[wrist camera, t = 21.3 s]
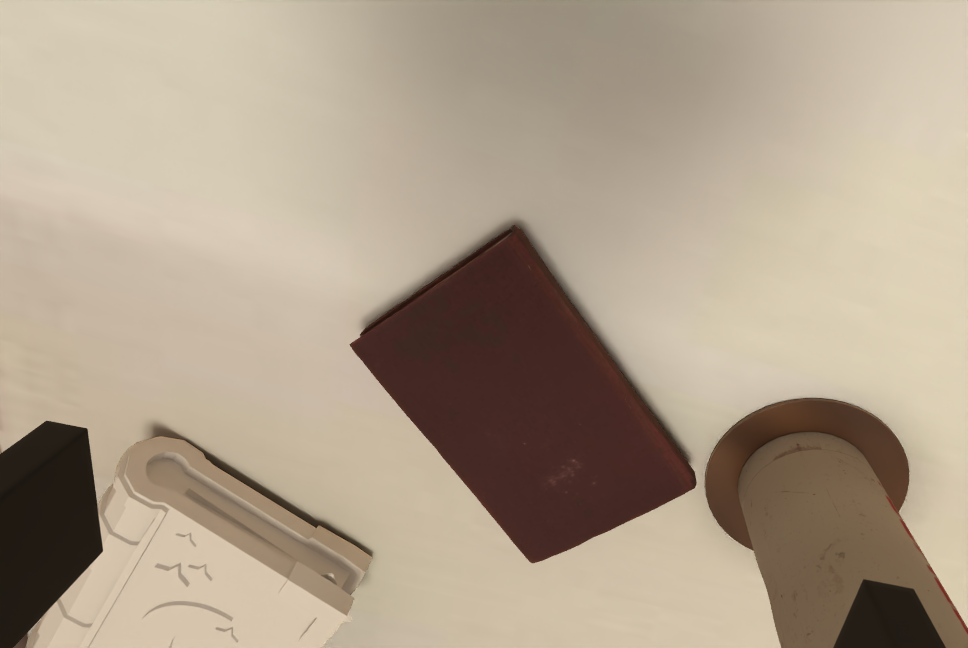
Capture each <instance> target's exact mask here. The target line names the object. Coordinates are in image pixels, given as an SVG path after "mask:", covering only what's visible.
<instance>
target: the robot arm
mask: <svg viewBox="0 0 968 648" xmlns="http://www.w3.org/2000/svg"><path fill="white" fill-rule="evenodd" d="M102 552H103V546H102V538H101V530H100V522H99V515H98V507H97V499H96V492H95V484H94V476H93V469H92V461H91V453H90V446H89V438H88V430H87V428H82V427H76V426H71V425H66V424H61V423H56V422H51V421H45V422H44V423H43V424H41V425H40V426H39V427H37V428H36V429H34V430H33V431H32V432H30V433H29V434H28V435H26V436H25V437H23V438H22V439H21V440H19V441H18V442H16V443H15V444H14V445H12V446H11V447H10V448H8V449H7V450H5V451H4V452H3V453H1V454H0V648H13V647H14V646H15V645H16V644H17V643H18V642H19V641H20V640H21V639H22V638H23V637H24V635H25V634H26V633H27V632H28V631H29V630H30V629H31V628H32V627H33V626H34V625H35V624H36V623H37V622H38V621H39V619H40V618H41V617H42V616H43V615H44V614H45V613H46V612H47V611H48V610H49V609H50V608H51V607H52V606H53V605H54V603H55V602H56V601H57V600H58V599H59V598H60V597H61V596H62V595H63V594H64V593H65V592H66V591H67V590H68V589H69V587H70V586H71V585H72V584H73V583H74V582H75V581H76V580H77V579H78V578H79V577H80V576H81V575H82V574H83V573H84V571H85V570H86V569H87V568H88V567H89V566H90V565H91V564H92V563H93V562H94V561H95V560H96V559H97V558H98V556H99V555H100V554H101V553H102ZM833 648H946V647H945V645H944V643H943V641H942V640H941V638H940V636H939V634H938V632H937V630H936V629H935V627H934V625H933V623H932V621H931V619H930V618H929V616H928V614H927V612H926V610H925V608H924V607H923V605H922V603H921V601H920V599H919V597H918V596H917V594H916V592H915V590H914V589H912V588H907V587H902V586H897V585H892V584H887V583H881V582H876V581H871V580H866V579H863V581H862V583H861V585H860V588H859V590H858V592H857V595H856V597H855V599H854V601H853V604H852V606H851V608H850V611H849V613H848V615H847V617H846V620H845V622H844V624H843V627H842V629H841V631H840V633H839V636H838V638H837V640H836V643H835V645H834V647H833Z"/></svg>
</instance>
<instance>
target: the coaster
mask: <svg viewBox="0 0 968 648" xmlns="http://www.w3.org/2000/svg"><path fill="white" fill-rule="evenodd" d="M799 432H820V433H825V434H830V435H833V436H836V437H838V438H841V439H844V440H845V441H847V442H849V443H850V444H852V445H853V446H855V447H856V448H857V449H858V450H859V451H860V452H861V453H862V454H863V455H864V457H865V458H866V460H867V461H868V463H869V464H870V466H871V468H872V469H873V471H874V473H875V474H876V476H877V478H878V479H879V481H880V483H881V484H882V486H883V488H884V489H885V491H886V493H887V494H888V496H889V498H890V499H891V501H892V503H893V504H894V506H895V508H896V509H897V511H898V512H899V510H900V508H901V506H902V505H903V503H904V500H905V497H906V494H907V490H908V485H909V467H908V461H907V458H906V455H905V452H904V449H903V447H902V446H901V444H900V442H899V440H898V439H897V437H896V436H895V435H894V434H893V432H892V431H891V430H890V429H889V428H888V427H887V426H886V425H885V424H884V423H883V422H882V421H881V420H879V419H878V418H876V417H875V416H874V415H872V414H871V413H869V412H867V411H865V410H863V409H861V408H859V407H856V406H853V405H850V404H848V403H844V402H839V401H835V400H828V399H797V400H790V401H785V402H780V403H777V404H774V405H771V406H768V407H765V408H763V409H760V410H758V411H756V412H754V413H752V414H750V415H749V416H747V417H745V418H744V419H742V420H741V421H740V422H738V423H737V424H736V425H734V426H733V427H732V428H731V429H730V430H729V431H728V432H727V433H726V434H725V435H724V436H723V438H722V439H721V440H720V441H719V443H718V444H717V446H716V447H715V449H714V451H713V453H712V455H711V457H710V460H709V462H708V465H707V470H706V475H705V490H706V497H707V500H708V504H709V507H710V509H711V512H712V514H713V516H714V517H715V519H716V520H717V522H718V523H719V525H720V526H721V527H722V528H723V529H724V531H725V532H726V533H727V534H729V535H730V536H731V537H732V538H733V539H734V540H736V541H737V542H739V543H740V544H742V545H743V546H745V547H747V548H749V549H751V550H753V546H752V543H751V539H750V536H749V532H748V529H747V525H746V522H745V518H744V515H743V511H742V508H741V504H740V500H739V494H738V481H739V477H740V474H741V471H742V468H743V467H744V465H745V463H746V462H747V460H748V459H749V458H750V457H751V456H752V454H753V453H754V452H755V451H756V450H758V449H759V448H760V447H762V446H763V445H765V444H766V443H768V442H770V441H772V440H774V439H776V438H778V437H781V436H785V435H788V434H791V433H799ZM753 551H754V550H753Z"/></svg>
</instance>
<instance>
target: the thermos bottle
mask: <svg viewBox="0 0 968 648" xmlns="http://www.w3.org/2000/svg"><path fill="white" fill-rule="evenodd" d="M738 494H739V500H740V504H741V508H742V511H743V515H744V518H745V522H746V525H747V529H748V532H749V536H750V539H751V543H752V546H753V550H754V553H755V557H756V560H757V563H758V566H759V569H760V572H761V574H762V577H763V580H764V582H765V585H766V589H767V592H768V595H769V599H770V604H771V609H772V613H773V618H774V622H775V626H776V630H777V634H778V637H779V641H780V644H781V648H833V647H834V645H835V643H836V640H837V638H838V636H839V633H840V631H841V629H842V627H843V624H844V622H845V620H846V617H847V615H848V613H849V611H850V608H851V606H852V604H853V601H854V599H855V597H856V595H857V592H858V590H859V588H860V585H861V583H862V581H863V579H866V580H871V581H876V582H881V583H887V584H892V585H897V586H902V587H907V588H912V589H914V590H915V592H916V594H917V596H918V597H919V599H920V601H921V603H922V605H923V607H924V608H925V610H926V612H927V614H928V616H929V618H930V619H931V621H932V623H933V625H934V627H935V629H936V630H937V632H938V634H939V636H940V638H941V640H942V641H943V643H944V645H945V647H946V648H968V628H967V626H966V625H965V623H964V621H963V620H962V618H961V616H960V615H959V613H958V611H957V610H956V608H955V606H954V604H953V603H952V601H951V599H950V598H949V596H948V594H947V593H946V591H945V589H944V588H943V586H942V584H941V583H940V581H939V579H938V578H937V576H936V574H935V573H934V571H933V569H932V568H931V566H930V564H929V563H928V561H927V559H926V558H925V556H924V554H923V553H922V551H921V549H920V548H919V546H918V544H917V543H916V541H915V539H914V538H913V536H912V534H911V533H910V531H909V529H908V528H907V526H906V524H905V523H904V521H903V519H902V518H901V516H900V514H899V513H898V511H897V509H896V508H895V506H894V504H893V503H892V501H891V499H890V498H889V496H888V494H887V493H886V491H885V489H884V488H883V486H882V484H881V483H880V481H879V479H878V478H877V476H876V474H875V473H874V471H873V469H872V468H871V466H870V464H869V463H868V461H867V460H866V458H865V457H864V455H863V454H862V453H861V452H860V451H859V450H858V449H857V448H856V447H855V446H853V445H852V444H850V443H849V442H847V441H845V440H844V439H841V438H838V437H836V436H833V435H830V434H825V433H820V432H799V433H791V434H788V435H785V436H781V437H778V438H776V439H774V440H772V441H770V442H768V443H766V444H765V445H763V446H762V447H760V448H759V449H758V450H756V451H755V452H754V453H753V454H752V456H751V457H750V458H749V459H748V460H747V462H746V463H745V465H744V467H743V468H742V471H741V474H740V477H739V481H738Z"/></svg>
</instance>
